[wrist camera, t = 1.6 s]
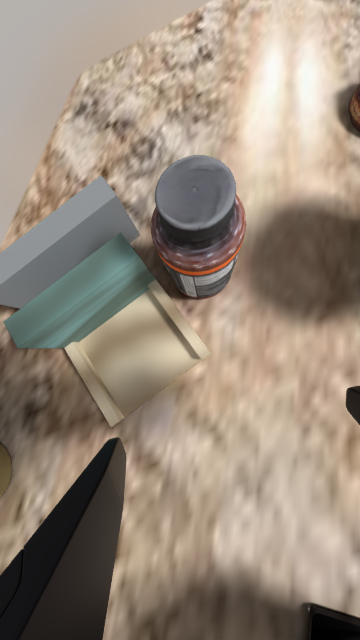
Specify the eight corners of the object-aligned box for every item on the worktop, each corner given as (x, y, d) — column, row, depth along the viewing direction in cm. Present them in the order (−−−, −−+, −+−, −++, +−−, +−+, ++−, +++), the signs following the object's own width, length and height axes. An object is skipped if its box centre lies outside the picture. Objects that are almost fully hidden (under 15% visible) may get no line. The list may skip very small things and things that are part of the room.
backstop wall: (140, 235, 23) (116, 195, 17) (38, 312, 23) (-20, 300, 17) (120, 209, 23) (91, 162, 17) (22, 284, 24) (-40, 263, 18)
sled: (210, 353, 20) (212, 355, 13) (119, 420, 20) (76, 456, 13) (147, 267, 22) (120, 232, 15) (64, 329, 22) (3, 322, 16)
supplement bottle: (167, 251, 22) (127, 151, 11) (224, 238, 21) (243, 118, 10) (177, 306, 21) (143, 258, 10) (236, 294, 20) (272, 230, 9)
